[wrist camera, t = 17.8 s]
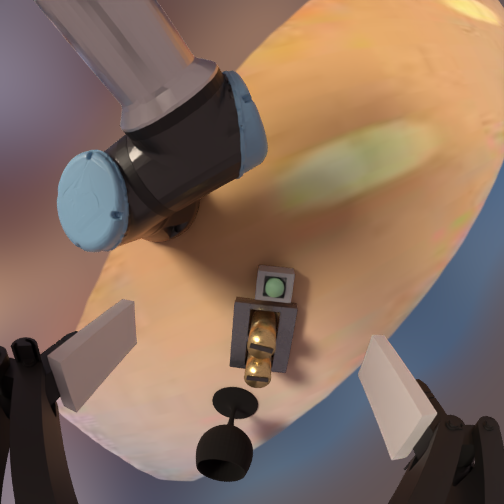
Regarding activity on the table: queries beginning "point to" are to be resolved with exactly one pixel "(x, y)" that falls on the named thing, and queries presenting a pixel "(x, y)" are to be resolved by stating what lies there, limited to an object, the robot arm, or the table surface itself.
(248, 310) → the grey flat frame
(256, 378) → the loose billet
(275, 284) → the button
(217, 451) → the wine glass
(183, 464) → the table surface
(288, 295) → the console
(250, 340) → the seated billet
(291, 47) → the table surface
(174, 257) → the table surface
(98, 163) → the robot arm
